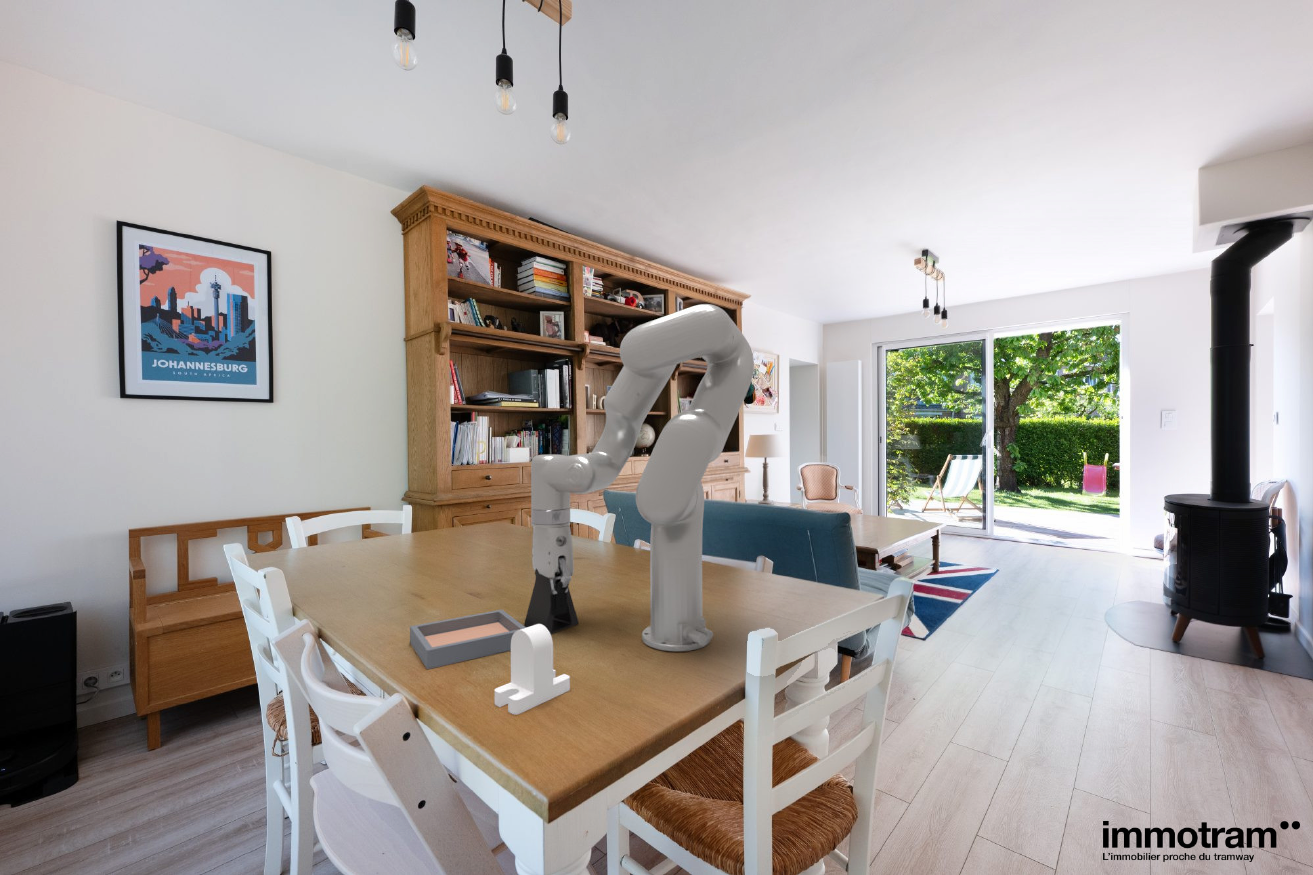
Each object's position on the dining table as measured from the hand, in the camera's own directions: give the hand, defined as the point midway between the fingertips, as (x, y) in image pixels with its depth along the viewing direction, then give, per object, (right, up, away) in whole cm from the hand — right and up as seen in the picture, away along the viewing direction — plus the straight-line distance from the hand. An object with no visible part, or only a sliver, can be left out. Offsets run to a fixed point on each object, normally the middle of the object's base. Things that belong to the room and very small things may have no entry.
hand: (551, 608), depth 108 cm
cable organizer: (+3, -4, -29) cm, 29 cm away
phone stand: (0, -4, 0) cm, 4 cm away
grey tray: (-13, -4, -9) cm, 16 cm away
